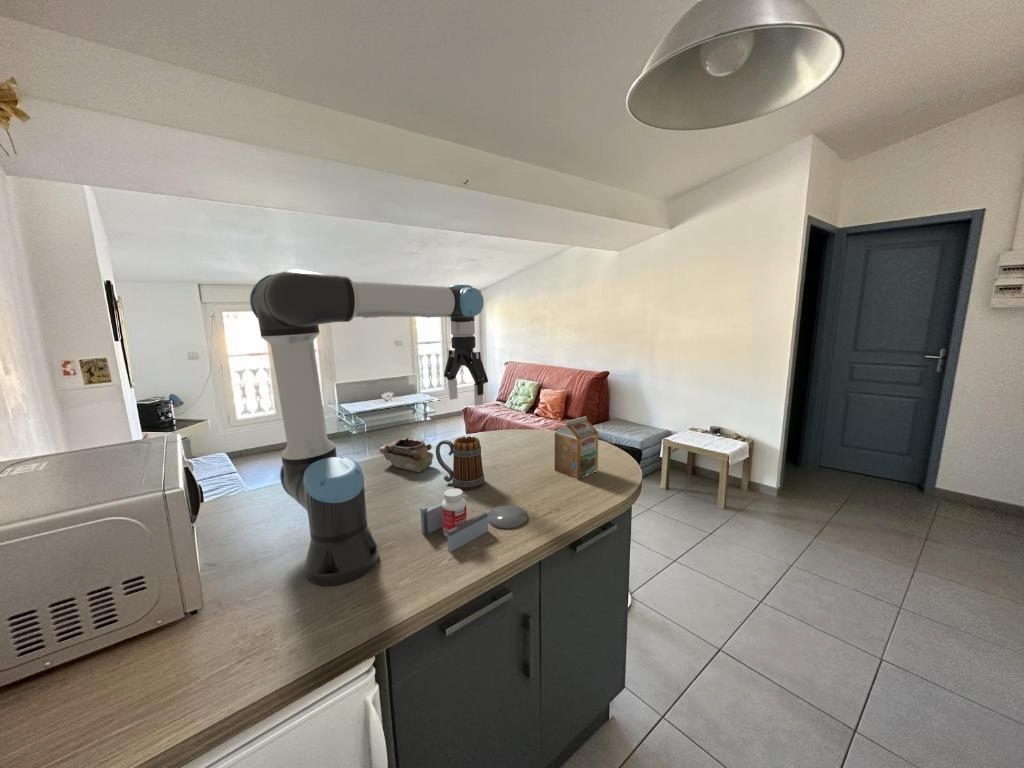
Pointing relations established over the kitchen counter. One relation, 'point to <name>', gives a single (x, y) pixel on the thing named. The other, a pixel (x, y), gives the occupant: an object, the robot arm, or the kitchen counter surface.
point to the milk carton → (576, 448)
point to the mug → (463, 463)
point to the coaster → (507, 517)
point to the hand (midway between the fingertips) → (465, 401)
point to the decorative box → (408, 454)
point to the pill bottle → (453, 509)
